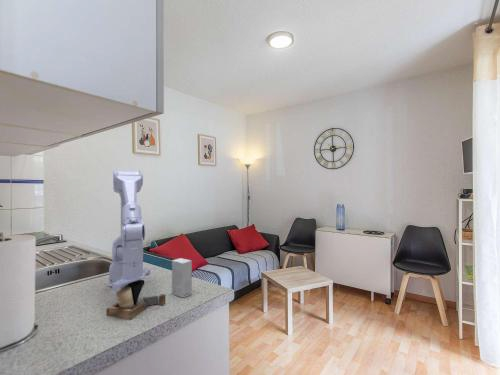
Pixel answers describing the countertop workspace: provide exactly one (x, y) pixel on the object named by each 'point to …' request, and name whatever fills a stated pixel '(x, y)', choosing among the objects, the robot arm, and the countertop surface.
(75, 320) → the countertop surface
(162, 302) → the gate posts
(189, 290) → the skincare box
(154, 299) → the flap right
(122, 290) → the peg
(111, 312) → the bay
